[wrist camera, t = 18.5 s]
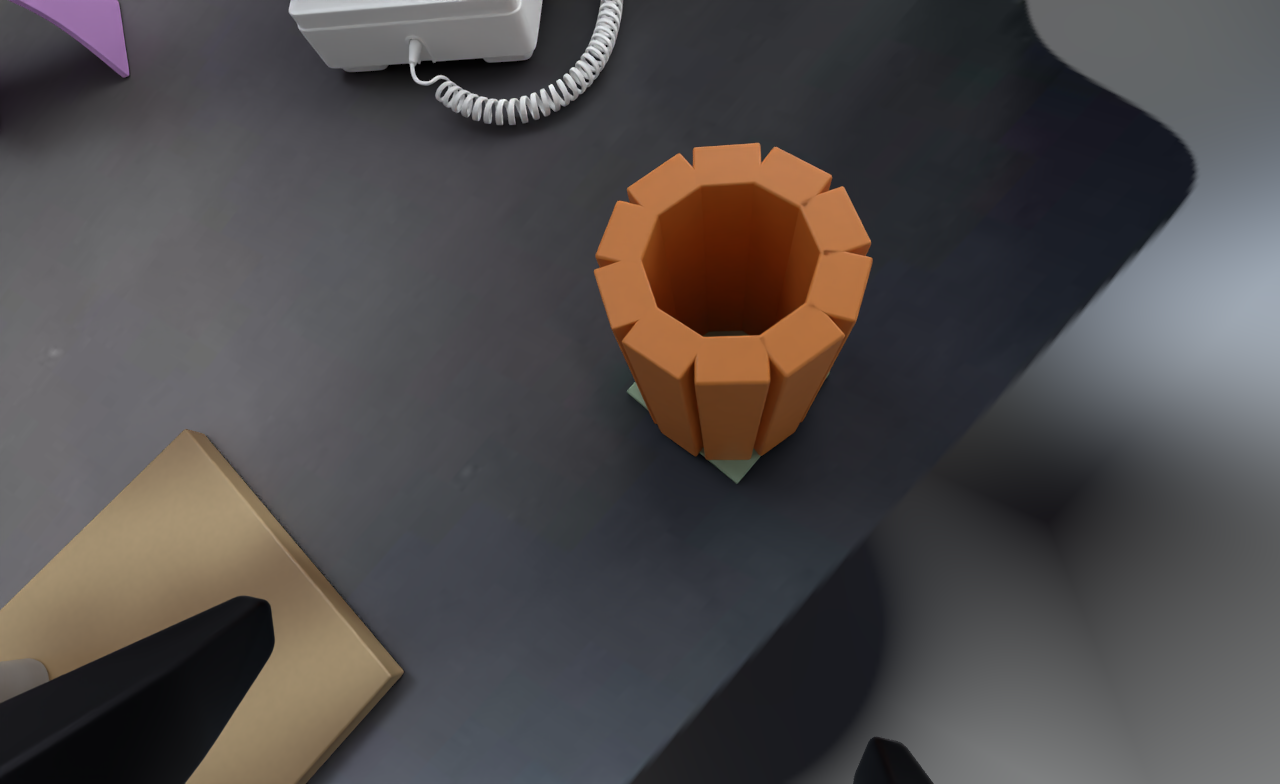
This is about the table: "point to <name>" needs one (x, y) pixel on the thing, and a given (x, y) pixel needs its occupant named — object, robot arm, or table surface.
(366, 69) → the telephone
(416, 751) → the table surface
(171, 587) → the ring board
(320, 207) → the table surface
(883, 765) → the robot arm
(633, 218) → the pen holder
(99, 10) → the toy chair
